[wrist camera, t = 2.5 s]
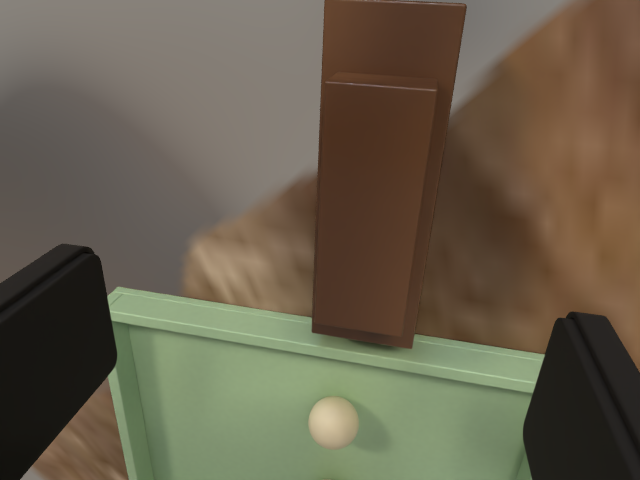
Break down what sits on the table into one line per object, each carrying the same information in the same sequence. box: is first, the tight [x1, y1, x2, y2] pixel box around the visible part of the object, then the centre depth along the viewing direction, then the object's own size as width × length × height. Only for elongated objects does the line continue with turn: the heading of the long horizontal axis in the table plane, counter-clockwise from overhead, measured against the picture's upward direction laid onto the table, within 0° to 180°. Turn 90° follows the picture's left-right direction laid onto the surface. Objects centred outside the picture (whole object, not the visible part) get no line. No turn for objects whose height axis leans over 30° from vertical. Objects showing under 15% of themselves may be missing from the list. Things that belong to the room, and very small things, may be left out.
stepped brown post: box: [311, 0, 467, 349], centre depth 17 cm, size 4×12×5 cm, turn 177°
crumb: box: [308, 396, 359, 450], centre depth 23 cm, size 2×2×2 cm
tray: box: [107, 287, 545, 480], centre depth 25 cm, size 21×15×2 cm
